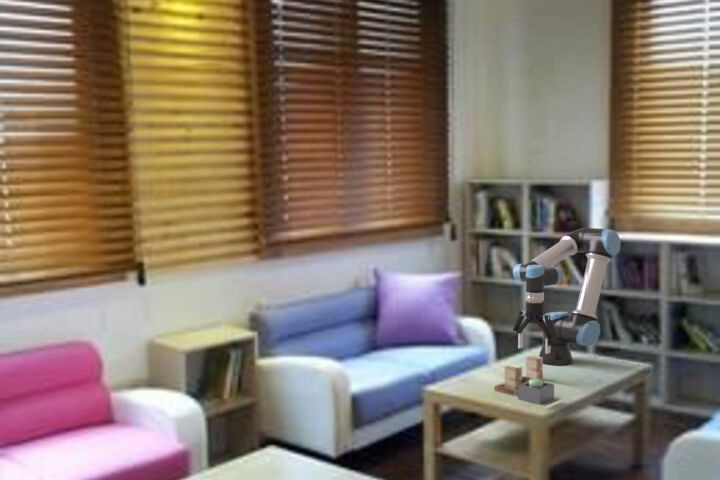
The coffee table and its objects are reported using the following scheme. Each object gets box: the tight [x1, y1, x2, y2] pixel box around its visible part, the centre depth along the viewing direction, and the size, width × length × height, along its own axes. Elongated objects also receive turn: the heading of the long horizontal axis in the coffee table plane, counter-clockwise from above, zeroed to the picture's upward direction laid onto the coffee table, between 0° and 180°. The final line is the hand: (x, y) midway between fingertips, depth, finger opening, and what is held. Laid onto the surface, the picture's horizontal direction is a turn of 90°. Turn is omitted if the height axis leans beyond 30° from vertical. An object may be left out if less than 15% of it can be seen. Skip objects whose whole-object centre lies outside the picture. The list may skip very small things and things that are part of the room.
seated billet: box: [504, 364, 523, 390], centre depth 338 cm, size 5×5×10 cm
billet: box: [525, 355, 544, 380], centre depth 356 cm, size 5×5×10 cm
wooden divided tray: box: [493, 375, 545, 397], centre depth 341 cm, size 20×11×3 cm, turn 135°
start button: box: [529, 379, 543, 388], centre depth 326 cm, size 6×6×3 cm
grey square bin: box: [517, 381, 555, 406], centre depth 326 cm, size 10×10×7 cm
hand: (534, 350), depth 355 cm, fingers open, 13 cm apart
